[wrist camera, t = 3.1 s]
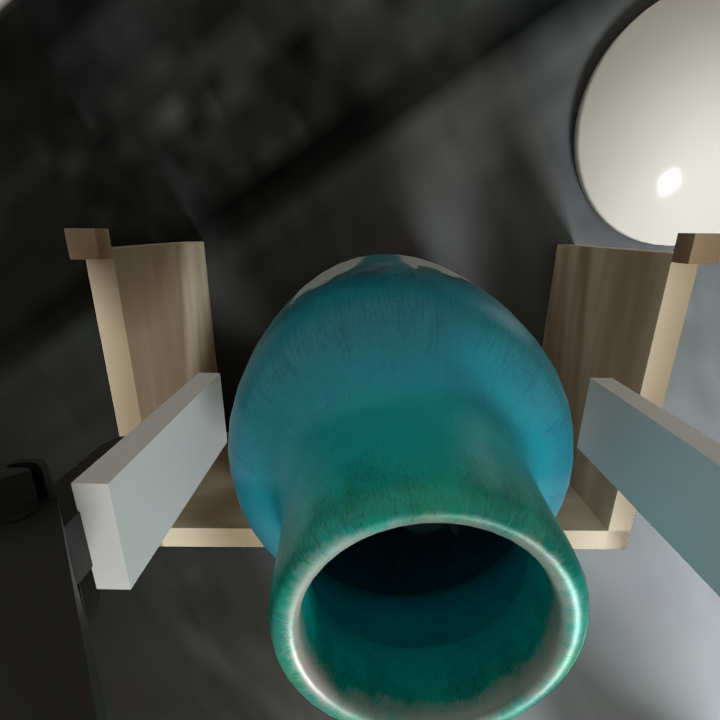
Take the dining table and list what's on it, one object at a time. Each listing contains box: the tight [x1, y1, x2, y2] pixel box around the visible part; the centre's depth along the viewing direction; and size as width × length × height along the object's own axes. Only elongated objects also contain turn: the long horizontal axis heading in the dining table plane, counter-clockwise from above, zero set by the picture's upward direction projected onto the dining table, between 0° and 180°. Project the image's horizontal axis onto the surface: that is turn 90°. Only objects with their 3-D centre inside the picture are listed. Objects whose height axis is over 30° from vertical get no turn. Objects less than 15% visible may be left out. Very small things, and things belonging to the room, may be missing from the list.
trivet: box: [574, 0, 720, 246], centre depth 21 cm, size 12×12×1 cm
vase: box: [228, 254, 589, 720], centre depth 16 cm, size 11×11×19 cm
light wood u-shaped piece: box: [64, 228, 720, 549], centre depth 20 cm, size 22×14×10 cm, turn 90°
